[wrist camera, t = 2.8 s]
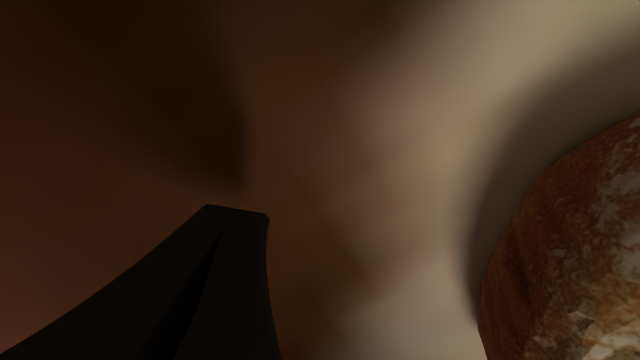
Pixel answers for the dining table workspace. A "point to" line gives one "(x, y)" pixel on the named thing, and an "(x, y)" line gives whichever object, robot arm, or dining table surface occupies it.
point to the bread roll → (571, 259)
